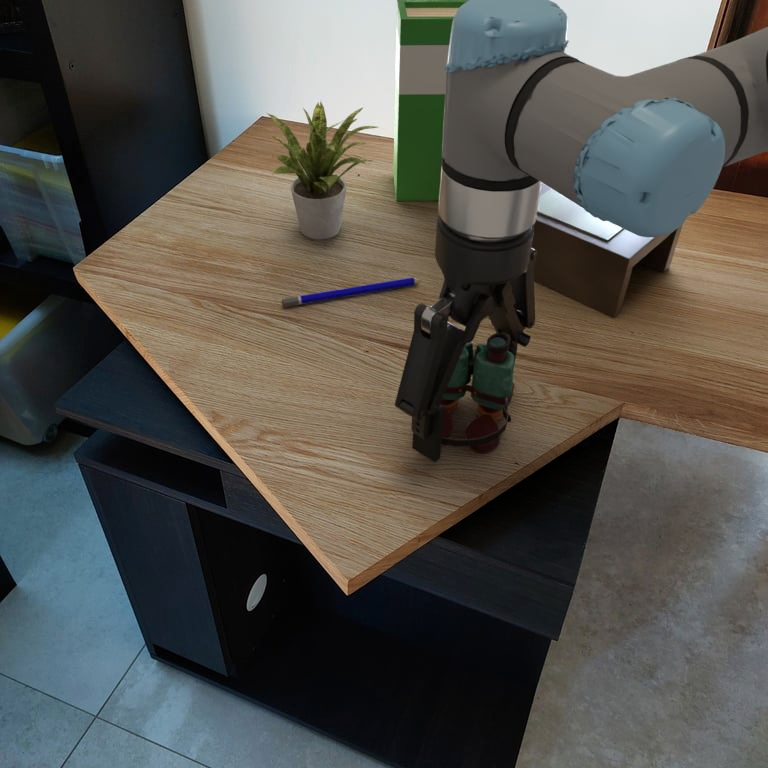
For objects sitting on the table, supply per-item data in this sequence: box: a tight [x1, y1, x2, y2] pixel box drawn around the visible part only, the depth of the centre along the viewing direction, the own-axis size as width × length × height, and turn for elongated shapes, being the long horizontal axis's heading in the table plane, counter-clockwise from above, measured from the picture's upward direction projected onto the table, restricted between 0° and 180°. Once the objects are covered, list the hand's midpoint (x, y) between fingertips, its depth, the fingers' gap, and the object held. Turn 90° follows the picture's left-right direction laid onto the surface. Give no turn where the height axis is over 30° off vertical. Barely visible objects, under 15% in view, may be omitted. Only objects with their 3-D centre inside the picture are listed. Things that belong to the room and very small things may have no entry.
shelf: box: [531, 183, 684, 319], centre depth 95 cm, size 22×14×10 cm, turn 48°
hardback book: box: [392, 0, 469, 202], centre depth 103 cm, size 18×7×24 cm, turn 93°
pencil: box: [281, 277, 422, 308], centre depth 91 cm, size 17×1×1 cm, turn 107°
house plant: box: [266, 101, 379, 240], centre depth 96 cm, size 14×14×16 cm
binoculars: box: [440, 332, 515, 454], centre depth 72 cm, size 9×11×10 cm
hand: (462, 421), depth 75 cm, fingers closed on binoculars, 10 cm apart
